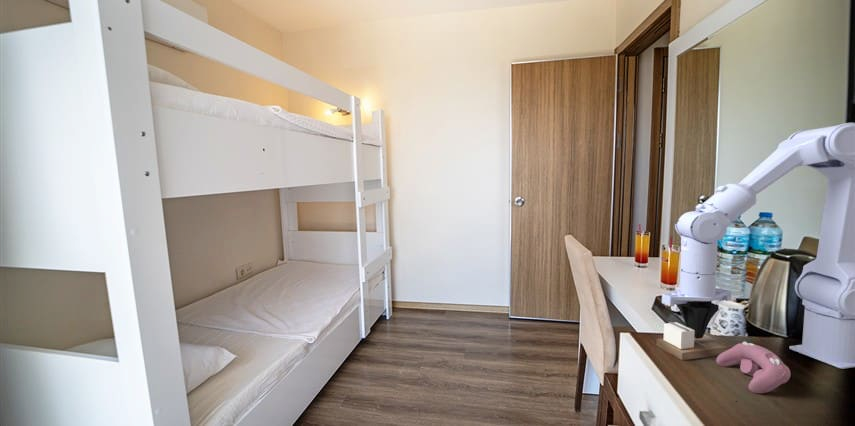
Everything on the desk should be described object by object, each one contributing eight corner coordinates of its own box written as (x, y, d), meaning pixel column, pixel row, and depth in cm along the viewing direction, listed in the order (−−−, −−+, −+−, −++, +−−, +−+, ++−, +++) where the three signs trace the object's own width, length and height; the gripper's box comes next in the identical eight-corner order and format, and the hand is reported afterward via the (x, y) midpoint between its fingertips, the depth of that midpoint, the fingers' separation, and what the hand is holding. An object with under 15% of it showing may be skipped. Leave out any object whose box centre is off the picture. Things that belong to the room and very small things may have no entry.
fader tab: (675, 338, 71) (676, 321, 71) (693, 347, 67) (694, 329, 67) (663, 339, 71) (664, 322, 71) (680, 349, 67) (681, 330, 67)
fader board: (708, 339, 74) (708, 332, 74) (737, 352, 68) (738, 345, 68) (656, 345, 72) (656, 338, 72) (682, 360, 66) (682, 352, 66)
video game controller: (778, 406, 55) (804, 370, 53) (749, 391, 55) (774, 356, 54) (735, 372, 64) (756, 341, 63) (711, 360, 65) (732, 329, 64)
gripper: (708, 264, 74) (705, 324, 75) (650, 269, 71) (648, 331, 72) (743, 272, 67) (740, 338, 68) (680, 278, 64) (678, 347, 65)
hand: (695, 336), depth 70 cm, fingers closed
